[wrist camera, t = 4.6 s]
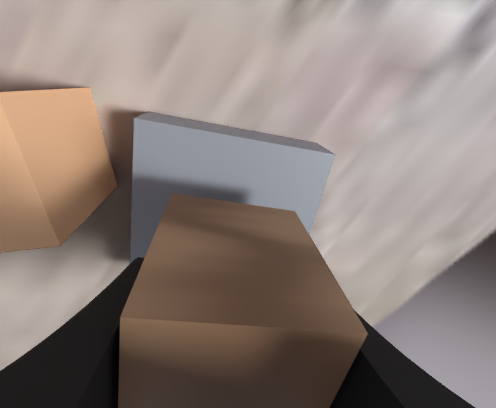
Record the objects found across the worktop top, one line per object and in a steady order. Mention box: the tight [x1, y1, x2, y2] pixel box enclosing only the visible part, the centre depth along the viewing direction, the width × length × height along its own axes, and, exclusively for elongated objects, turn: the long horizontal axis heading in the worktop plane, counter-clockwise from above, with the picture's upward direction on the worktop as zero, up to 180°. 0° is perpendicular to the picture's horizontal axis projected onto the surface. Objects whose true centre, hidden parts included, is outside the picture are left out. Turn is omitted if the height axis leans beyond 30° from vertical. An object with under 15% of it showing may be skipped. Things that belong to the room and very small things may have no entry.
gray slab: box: [130, 112, 335, 263], centre depth 15 cm, size 9×9×3 cm
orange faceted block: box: [0, 87, 117, 252], centre depth 11 cm, size 5×5×6 cm
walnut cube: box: [118, 193, 368, 408], centre depth 9 cm, size 5×5×6 cm
